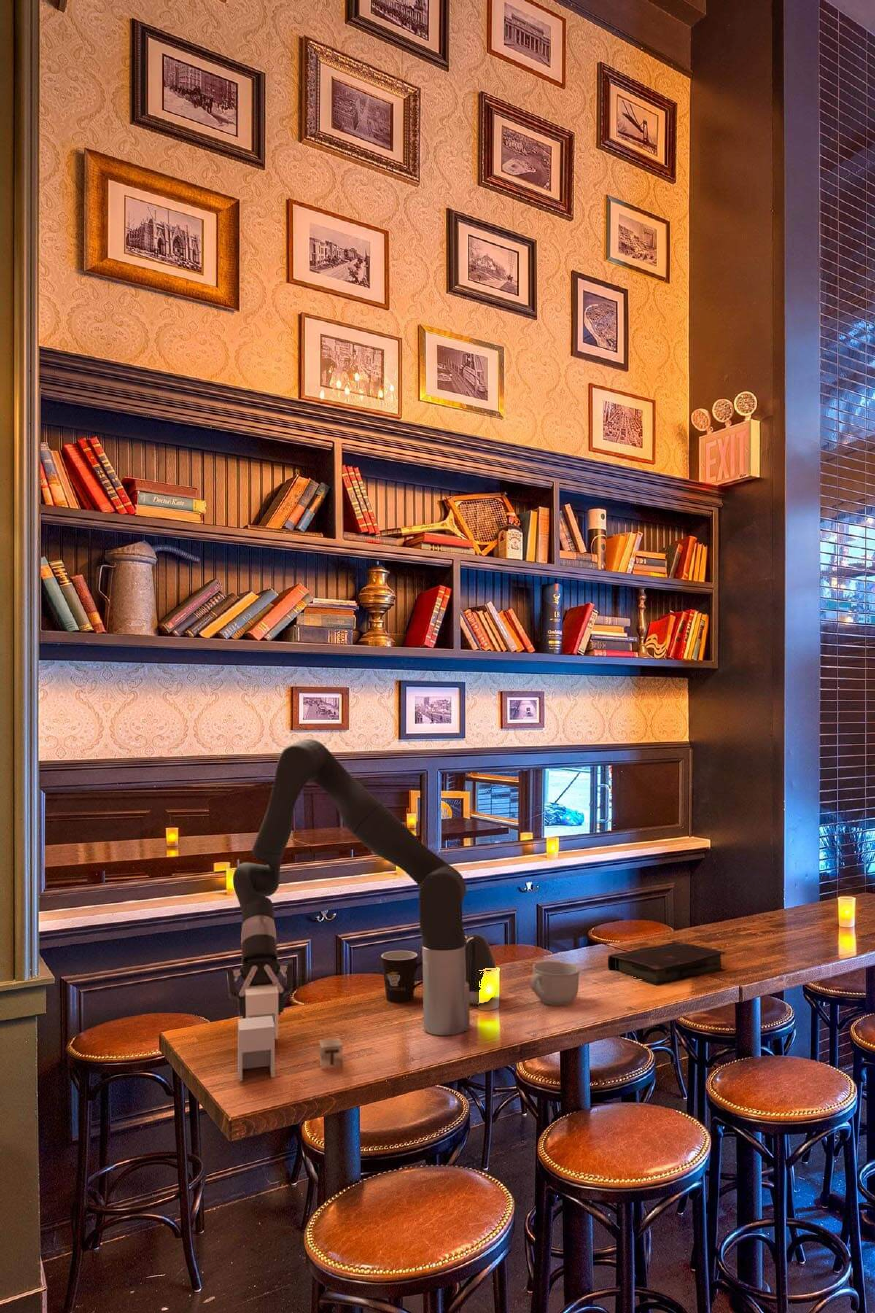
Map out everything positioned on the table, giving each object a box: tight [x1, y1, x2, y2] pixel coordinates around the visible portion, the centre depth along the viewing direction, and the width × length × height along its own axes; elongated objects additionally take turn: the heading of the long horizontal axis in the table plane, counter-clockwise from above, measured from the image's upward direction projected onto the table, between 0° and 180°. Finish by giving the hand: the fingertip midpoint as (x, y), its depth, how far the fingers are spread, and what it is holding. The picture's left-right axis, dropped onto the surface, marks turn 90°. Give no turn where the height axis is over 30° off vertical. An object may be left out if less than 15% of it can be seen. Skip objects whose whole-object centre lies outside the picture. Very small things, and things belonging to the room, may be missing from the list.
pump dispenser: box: [465, 933, 497, 1005], centre depth 200 cm, size 10×10×15 cm
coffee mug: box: [380, 950, 423, 1004], centre depth 201 cm, size 12×9×10 cm
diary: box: [607, 941, 727, 986], centre depth 222 cm, size 19×25×5 cm
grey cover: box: [237, 1016, 276, 1082], centre depth 159 cm, size 6×6×9 cm
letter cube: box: [318, 1038, 344, 1070], centre depth 162 cm, size 4×4×4 cm
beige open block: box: [245, 984, 279, 1039], centre depth 175 cm, size 6×6×9 cm
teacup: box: [529, 960, 580, 1007], centre depth 197 cm, size 14×11×8 cm
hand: (261, 1015), depth 174 cm, fingers closed on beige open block, 6 cm apart
